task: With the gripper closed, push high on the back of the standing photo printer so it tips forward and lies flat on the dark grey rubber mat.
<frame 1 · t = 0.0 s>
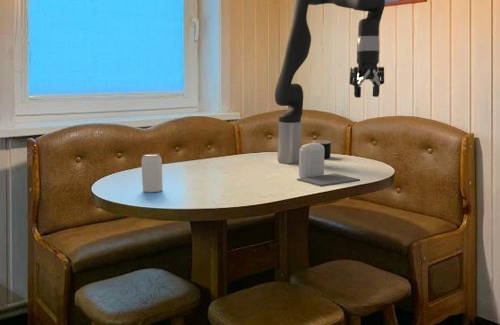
hand: (366, 97, 193), 29 cm above the table, tool pointing down, fingers open, 8 cm apart
sushi: (321, 158, 247), on the table
mat: (328, 180, 196), on the table
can: (152, 191, 180), on the table
photo printer: (311, 176, 204), on the table
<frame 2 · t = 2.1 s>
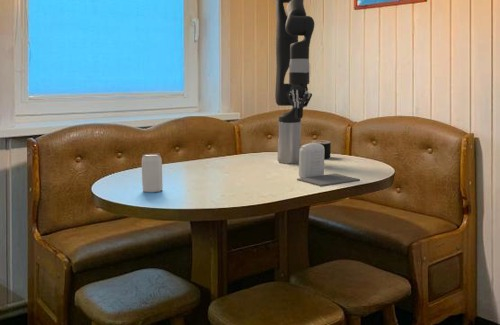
hand: (298, 118, 207), 21 cm above the table, tool pointing down, fingers closed
nothing on the table moved.
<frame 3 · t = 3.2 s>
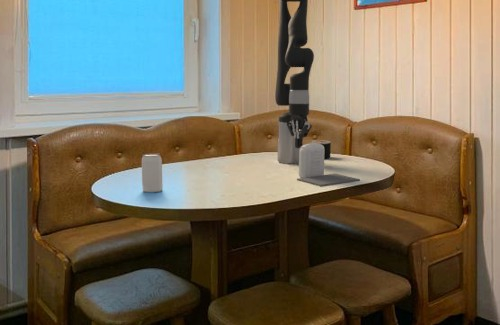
hand: (298, 148, 209), 10 cm above the table, tool pointing down, fingers closed
nothing on the table moved.
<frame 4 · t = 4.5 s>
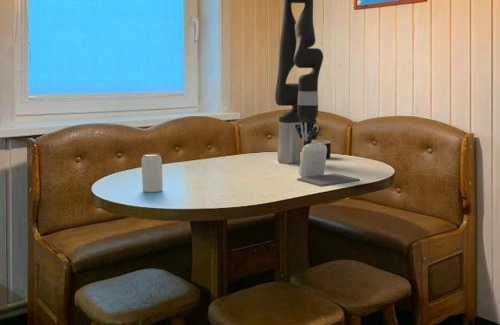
hand: (307, 150, 204), 9 cm above the table, tool pointing down, fingers closed
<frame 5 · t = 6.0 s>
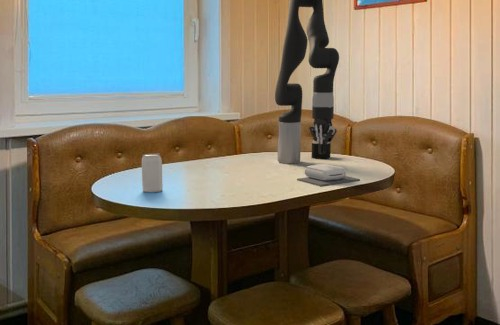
hand: (322, 153, 197), 9 cm above the table, tool pointing down, fingers closed
photo printer: (314, 169, 202), point 3 cm above the table, touching mat
everything else where it was.
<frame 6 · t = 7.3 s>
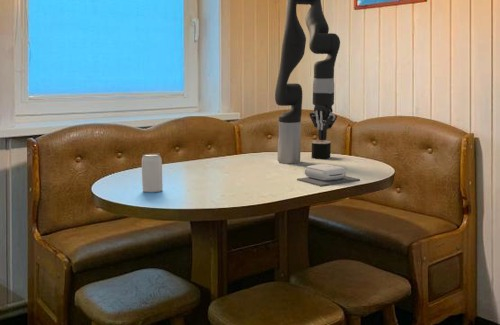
hand: (322, 140, 197), 14 cm above the table, tool pointing down, fingers closed
nothing on the table moved.
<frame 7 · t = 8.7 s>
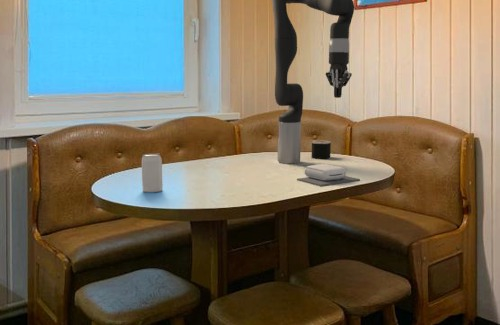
hand: (337, 97, 210), 28 cm above the table, tool pointing down, fingers closed
nothing on the table moved.
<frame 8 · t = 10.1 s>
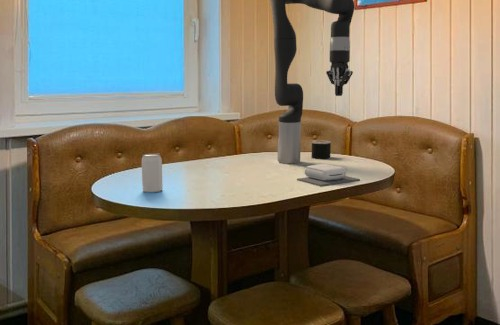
hand: (338, 95, 211), 29 cm above the table, tool pointing down, fingers closed
nothing on the table moved.
at the end: photo printer tilted 90°; photo printer touching mat; photo printer inside the target area (1.2 cm from its centre), point 2.6 cm above the table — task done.
